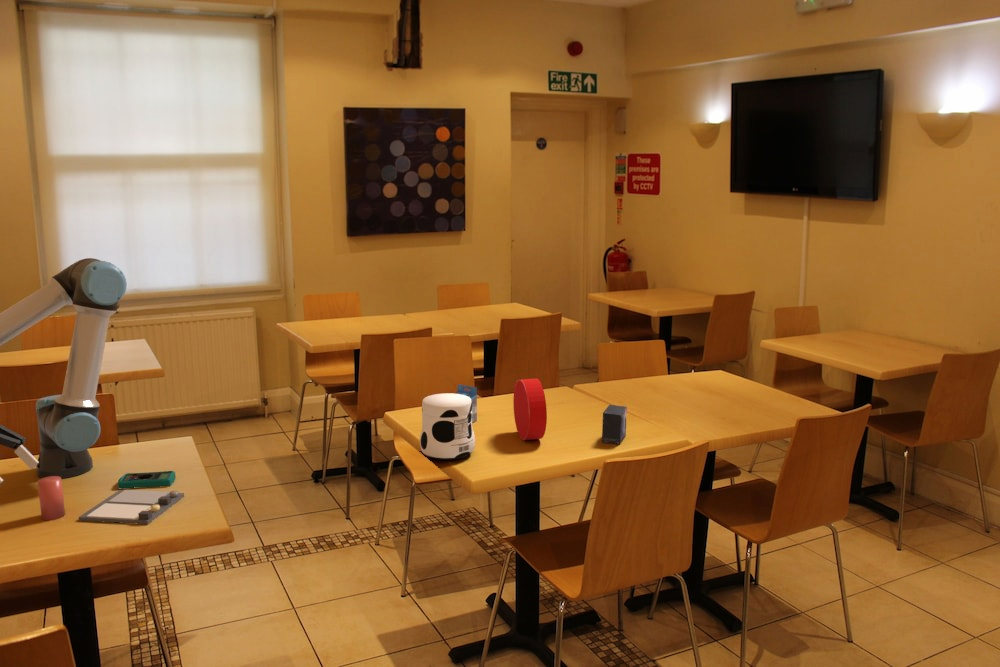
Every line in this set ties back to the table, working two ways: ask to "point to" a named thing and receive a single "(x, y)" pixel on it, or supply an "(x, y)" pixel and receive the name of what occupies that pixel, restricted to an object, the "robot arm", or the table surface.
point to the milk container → (447, 426)
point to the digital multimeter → (147, 479)
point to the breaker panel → (132, 506)
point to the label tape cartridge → (472, 395)
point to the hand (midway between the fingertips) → (18, 474)
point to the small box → (614, 424)
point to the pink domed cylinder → (51, 498)
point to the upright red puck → (530, 409)
